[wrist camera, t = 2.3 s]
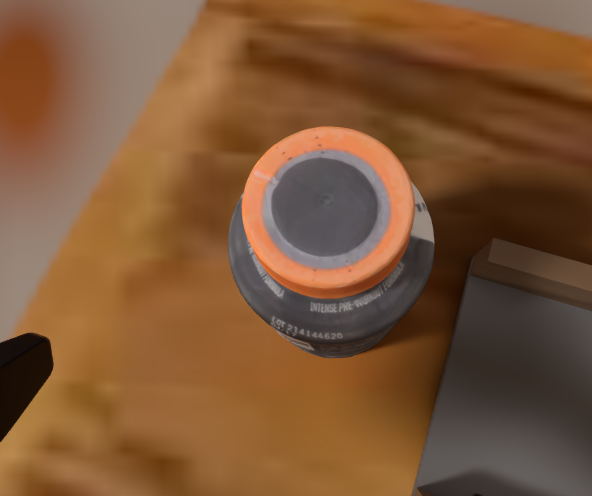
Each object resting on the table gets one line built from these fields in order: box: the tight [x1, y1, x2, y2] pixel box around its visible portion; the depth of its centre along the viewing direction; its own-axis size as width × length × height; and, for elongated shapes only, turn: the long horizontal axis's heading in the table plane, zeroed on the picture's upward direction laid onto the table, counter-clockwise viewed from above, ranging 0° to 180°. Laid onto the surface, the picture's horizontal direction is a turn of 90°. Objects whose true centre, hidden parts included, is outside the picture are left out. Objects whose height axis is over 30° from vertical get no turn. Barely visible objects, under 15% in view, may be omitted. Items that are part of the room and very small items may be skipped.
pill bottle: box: [228, 126, 434, 358], centre depth 16 cm, size 6×6×11 cm
